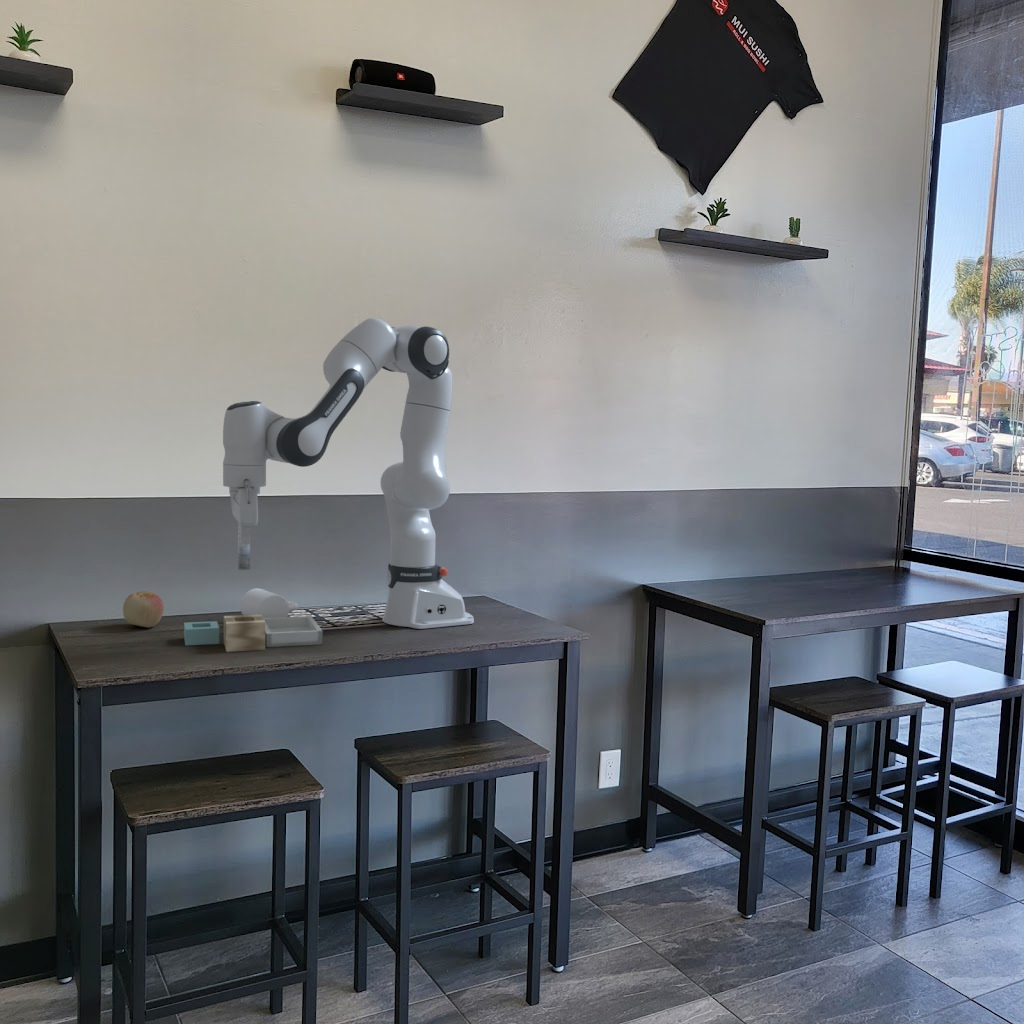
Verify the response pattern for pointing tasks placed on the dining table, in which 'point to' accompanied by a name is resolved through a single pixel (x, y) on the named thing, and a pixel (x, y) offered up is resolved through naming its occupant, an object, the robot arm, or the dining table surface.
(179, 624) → the dining table surface
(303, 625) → the tray
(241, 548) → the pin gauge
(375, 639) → the dining table surface
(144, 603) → the apple
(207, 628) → the stand
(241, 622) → the beech block
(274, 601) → the mug
